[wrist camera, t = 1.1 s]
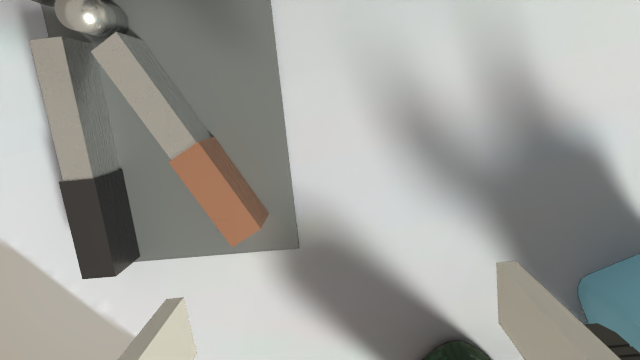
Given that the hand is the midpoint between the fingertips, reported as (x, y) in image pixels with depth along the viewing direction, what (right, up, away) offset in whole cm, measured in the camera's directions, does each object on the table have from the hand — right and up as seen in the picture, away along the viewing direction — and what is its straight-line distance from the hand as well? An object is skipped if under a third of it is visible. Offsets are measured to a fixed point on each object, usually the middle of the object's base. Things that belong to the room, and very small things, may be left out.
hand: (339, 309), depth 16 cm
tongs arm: (-13, +11, +17) cm, 24 cm away
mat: (-14, +12, +18) cm, 25 cm away
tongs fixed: (-19, +11, +18) cm, 28 cm away
